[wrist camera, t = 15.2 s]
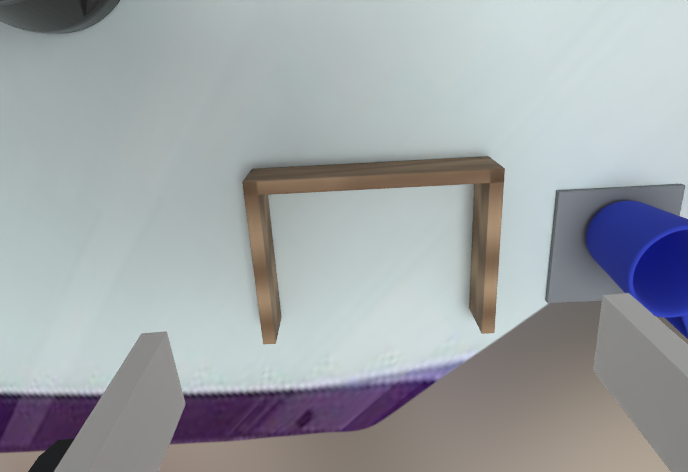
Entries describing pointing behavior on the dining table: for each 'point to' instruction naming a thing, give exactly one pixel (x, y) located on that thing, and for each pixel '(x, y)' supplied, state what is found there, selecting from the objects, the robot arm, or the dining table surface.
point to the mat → (570, 238)
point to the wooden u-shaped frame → (380, 176)
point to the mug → (644, 256)
